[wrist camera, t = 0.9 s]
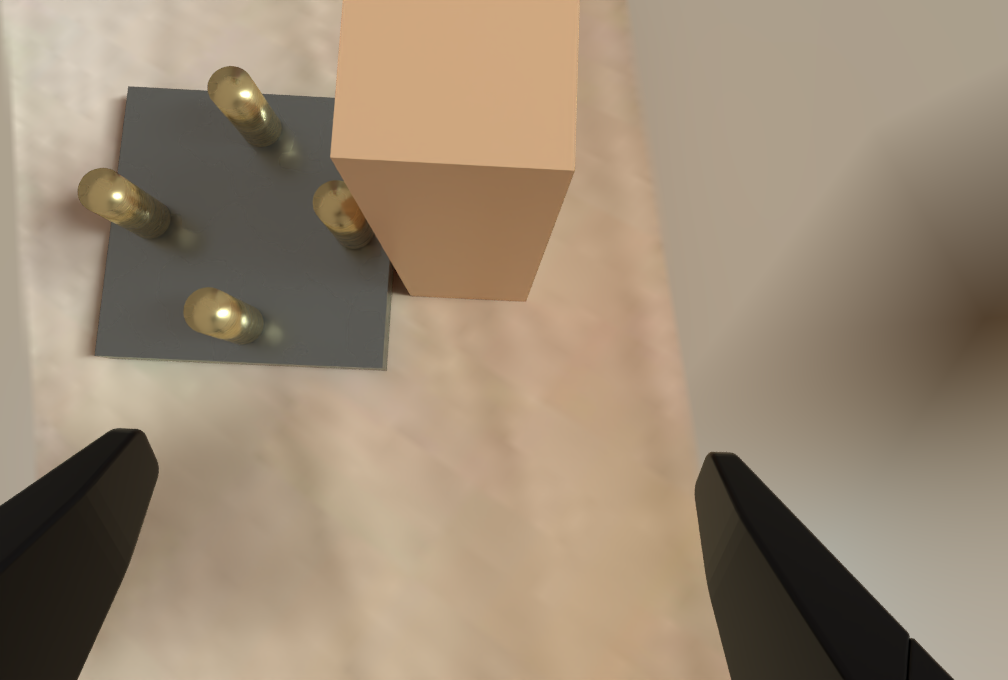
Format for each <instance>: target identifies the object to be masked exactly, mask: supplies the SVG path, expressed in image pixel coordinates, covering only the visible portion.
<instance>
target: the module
mask: <svg viewBox="0 0 1008 680" xmlns="http://www.w3.org/2000/svg"><path fill="white" fill-rule="evenodd" d="M579 5H580V0H343V6H342V18H341V30H340V43H339V55H338V68H337V80H336V92H335V105H334V117H333V130H332V142H331V154H330V158H331V160H332V161H333V163H334V165H335V167H336V168H337V170H338V172H339V173H340V175H341V177H342V179H343V180H344V182H345V184H346V185H347V187H348V189H349V191H350V192H351V194H352V196H353V197H354V199H355V201H356V203H357V204H358V206H359V208H360V209H361V211H362V213H363V215H364V216H365V218H366V220H367V221H368V223H369V225H370V227H371V228H372V230H373V232H374V233H375V235H376V237H377V239H378V240H379V242H380V244H381V246H382V247H383V249H384V251H385V252H386V254H387V256H388V258H389V259H390V261H391V263H392V264H393V266H394V268H395V270H396V271H397V273H398V275H399V276H400V278H401V280H402V282H403V283H404V285H405V287H406V288H407V290H408V292H409V294H410V295H411V296H422V297H443V298H464V299H485V300H506V301H526V300H527V297H528V295H529V292H530V289H531V287H532V284H533V281H534V279H535V276H536V273H537V271H538V268H539V265H540V262H541V260H542V257H543V254H544V252H545V249H546V246H547V244H548V241H549V238H550V236H551V233H552V230H553V228H554V225H555V222H556V220H557V217H558V214H559V212H560V209H561V206H562V204H563V201H564V198H565V196H566V193H567V190H568V187H569V185H570V182H571V179H572V177H573V174H574V171H575V145H576V110H577V75H578V40H579Z"/></svg>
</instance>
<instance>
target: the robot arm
mask: <svg viewBox="0 0 1008 680" xmlns="http://www.w3.org/2000/svg"><path fill="white" fill-rule="evenodd" d="M158 473H159V466H158V462H157V459H156V457H155V455H154V452H153V450H152V448H151V446H150V444H149V441H148V439H147V437H146V435H145V433H144V432H143V431H141V430H139V429H124V428H117V429H113V430H110V431H109V432H107V433H105V434H104V435H103V436H101V437H100V438H98V439H97V440H95V441H94V442H92V443H91V444H89V445H88V446H87V447H85V448H84V449H82V450H81V451H79V452H78V453H76V454H75V455H73V456H72V457H71V458H69V459H68V460H66V461H65V462H63V463H62V464H60V465H59V466H57V467H56V468H55V469H53V470H52V471H50V472H49V473H47V474H46V475H44V476H43V477H41V478H40V479H39V480H37V481H36V482H34V483H33V484H31V485H30V486H28V487H27V488H26V489H24V490H23V491H21V492H20V493H18V494H17V495H15V496H14V497H13V498H11V499H9V500H8V501H7V502H5V503H4V504H2V505H1V506H0V680H77V679H78V677H79V675H80V673H81V671H82V668H83V666H84V664H85V662H86V660H87V657H88V655H89V653H90V651H91V648H92V646H93V644H94V642H95V640H96V637H97V635H98V633H99V631H100V629H101V626H102V624H103V622H104V620H105V618H106V615H107V613H108V611H109V609H110V607H111V604H112V602H113V600H114V598H115V596H116V593H117V591H118V589H119V587H120V584H121V582H122V580H123V578H124V575H125V573H126V571H127V568H128V566H129V563H130V560H131V557H132V555H133V552H134V549H135V546H136V543H137V540H138V537H139V534H140V530H141V527H142V524H143V521H144V518H145V515H146V512H147V509H148V506H149V503H150V500H151V497H152V494H153V491H154V487H155V484H156V481H157V478H158ZM695 502H696V510H697V517H698V524H699V531H700V538H701V545H702V552H703V560H704V567H705V574H706V580H707V586H708V590H709V595H710V599H711V603H712V607H713V611H714V615H715V618H716V622H717V626H718V630H719V634H720V638H721V642H722V646H723V649H724V653H725V657H726V661H727V665H728V669H729V673H730V677H731V680H954V679H953V678H952V677H951V676H950V675H949V674H948V673H947V672H946V671H945V670H944V669H943V668H942V667H941V666H940V665H939V664H938V663H937V662H936V661H935V660H934V659H933V658H932V657H931V656H930V655H929V654H928V652H927V651H926V650H925V649H923V647H922V646H921V645H920V644H919V643H918V642H917V641H916V640H915V639H913V638H910V639H909V637H910V636H909V633H908V632H907V631H906V630H905V629H904V628H903V627H902V626H901V625H900V624H899V623H898V622H897V621H896V620H895V619H894V618H893V616H891V614H890V613H888V611H887V610H886V609H885V608H884V607H883V606H882V605H881V604H880V603H879V602H878V601H877V600H876V599H875V598H874V597H873V596H872V595H871V594H870V593H869V592H868V590H867V589H866V588H865V587H863V585H862V584H861V583H860V582H859V581H858V580H857V579H856V578H855V577H854V576H853V575H852V574H851V573H850V572H849V571H848V570H847V569H846V568H845V567H844V566H843V565H842V564H841V563H840V561H839V560H838V559H836V557H835V556H834V555H833V554H832V553H831V552H830V551H829V550H828V549H827V548H826V547H825V546H824V545H823V544H822V543H821V542H820V541H819V540H818V539H817V538H816V537H815V536H814V534H813V533H812V532H811V531H810V530H809V529H808V528H807V527H806V526H805V525H804V524H803V523H802V522H801V521H800V520H799V519H798V518H797V517H796V516H795V515H794V514H793V513H792V512H791V511H790V510H789V509H788V507H786V505H785V504H784V503H783V502H782V501H781V500H780V499H779V498H778V497H777V496H776V495H775V494H774V493H773V492H772V491H771V490H770V489H769V488H768V487H767V486H766V485H765V484H764V483H763V482H762V481H761V479H760V478H759V477H758V476H757V475H756V474H755V473H754V472H753V471H752V470H751V469H750V468H749V467H748V466H747V465H746V464H745V463H744V462H743V461H742V460H741V459H740V458H739V457H738V456H737V455H736V454H734V453H730V452H710V453H709V454H708V455H707V456H706V458H705V460H704V463H703V465H702V468H701V471H700V473H699V476H698V479H697V481H696V485H695Z"/></svg>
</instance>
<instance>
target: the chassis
mask: <svg viewBox="0 0 1008 680" xmlns="http://www.w3.org/2000/svg"><path fill="white" fill-rule="evenodd" d="M334 105H335V98H327V97H309V96H291V95H273V94H262V93H261V92H260V90H259V89H258V87H257V86H256V84H255V83H254V81H253V80H252V79H251V77H250V76H249V74H248V73H247V72H246V71H244V70H243V69H241V68H239V67H234V66H228V67H223V68H221V69H219V70H217V71H216V72H215V73H214V74H213V75H212V76H211V78H210V80H209V82H208V91H201V90H183V89H165V88H147V87H129V86H128V93H127V101H126V109H125V117H124V125H123V133H122V141H121V149H120V157H119V165H118V173H117V172H115V171H113V170H111V169H107V168H98V169H94V170H92V171H90V172H88V173H87V174H86V175H85V176H84V177H83V178H82V179H81V181H80V183H79V186H78V197H79V200H80V202H81V203H82V205H83V206H84V207H85V208H87V209H88V210H90V211H92V212H94V213H96V214H98V215H100V216H102V217H104V218H105V219H107V220H109V221H111V229H110V237H109V245H108V253H107V261H106V269H105V277H104V285H103V293H102V301H101V309H100V317H99V325H98V333H97V341H96V349H95V356H99V357H105V358H113V359H136V360H159V361H182V362H204V363H227V364H250V365H273V366H295V367H318V368H341V369H364V370H386V371H387V356H388V341H389V326H390V310H391V295H392V280H393V264H392V263H391V261H390V259H389V258H388V256H387V254H386V252H385V251H384V249H383V247H382V246H381V244H380V242H379V240H378V239H377V237H376V235H375V233H374V232H373V230H372V228H371V227H370V225H369V223H368V221H367V220H366V218H365V216H364V215H363V213H362V211H361V209H360V208H359V206H358V204H357V203H356V201H355V199H354V197H353V196H352V194H351V192H350V191H349V189H348V187H347V185H346V184H345V182H344V180H343V179H342V177H341V175H340V173H339V172H338V170H337V168H336V167H335V165H334V163H333V161H332V160H331V158H330V154H331V142H332V130H333V117H334Z"/></svg>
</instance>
